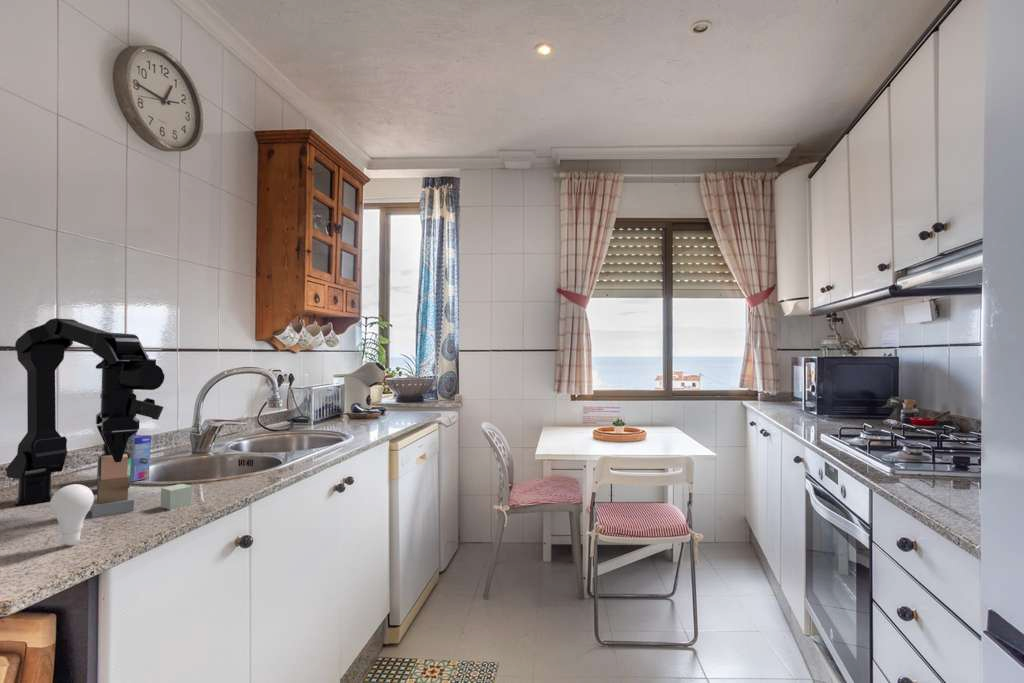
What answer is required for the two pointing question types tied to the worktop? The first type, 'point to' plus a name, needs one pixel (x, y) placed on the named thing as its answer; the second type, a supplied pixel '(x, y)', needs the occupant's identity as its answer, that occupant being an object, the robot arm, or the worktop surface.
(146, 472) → the ink cartridge box
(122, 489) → the walnut cube
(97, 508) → the slate base block
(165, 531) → the worktop surface
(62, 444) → the robot arm
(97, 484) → the supplement bottle
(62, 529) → the lightbulb
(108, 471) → the terracotta block
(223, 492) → the worktop surface
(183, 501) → the sage block
